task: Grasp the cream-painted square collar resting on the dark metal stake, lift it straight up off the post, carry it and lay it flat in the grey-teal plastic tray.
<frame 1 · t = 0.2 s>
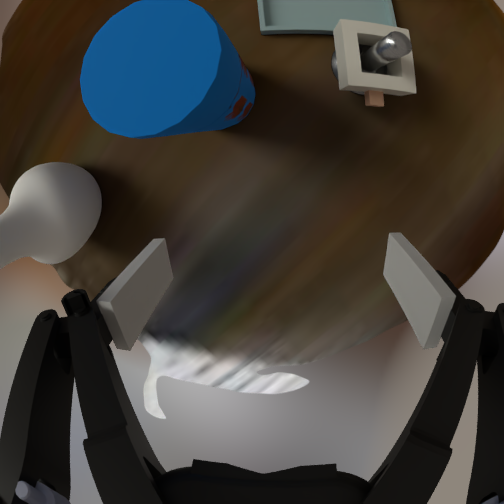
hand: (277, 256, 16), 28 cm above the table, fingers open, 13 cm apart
vase: (80, 197, 45), on the table
thermos: (219, 95, 36), on the table
ring: (368, 62, 28), point 4 cm above the table, touching stake
stake: (360, 67, 32), on the table
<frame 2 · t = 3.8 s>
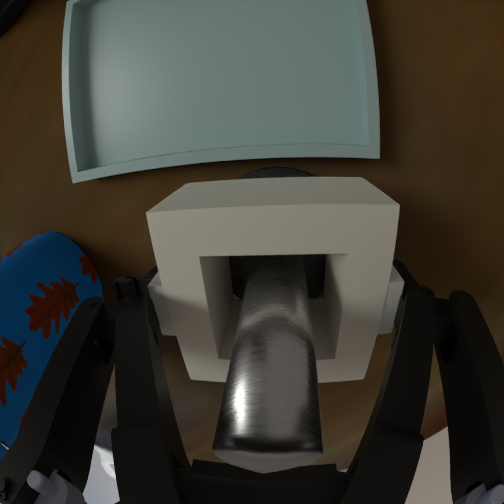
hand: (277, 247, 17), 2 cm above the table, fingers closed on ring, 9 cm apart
thermos: (64, 278, 23), on the table
ring: (277, 258, 16), point 4 cm above the table, touching gripper, stake
tray: (203, 47, 14), on the table
stake: (278, 232, 19), on the table
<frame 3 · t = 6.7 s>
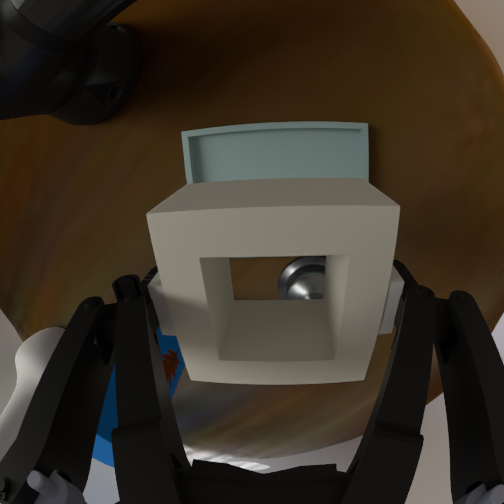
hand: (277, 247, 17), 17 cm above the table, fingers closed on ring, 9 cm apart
vase: (70, 346, 50), on the table
thermos: (169, 307, 41), on the table
ring: (277, 259, 16), point 18 cm above the table, touching gripper
tray: (278, 188, 32), on the table
stake: (311, 285, 37), on the table
when the fingers open (2 cm above the table, at t = 10.1 s): ring drops 3 cm, resting on tray.
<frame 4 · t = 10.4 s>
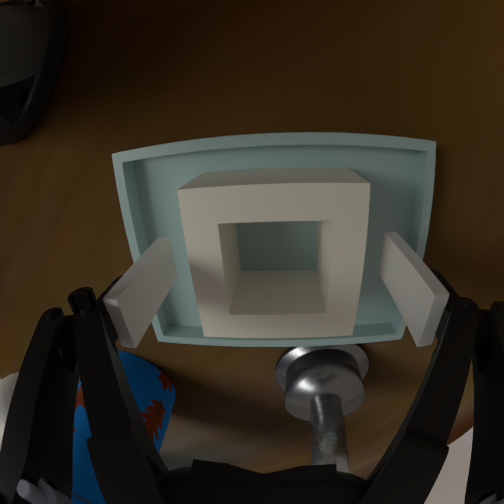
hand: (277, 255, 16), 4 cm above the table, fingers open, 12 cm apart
vase: (40, 391, 38), on the table
thermos: (135, 379, 29), on the table
ring: (277, 235, 19), resting on tray
tray: (278, 245, 20), on the table
stake: (322, 369, 25), on the table
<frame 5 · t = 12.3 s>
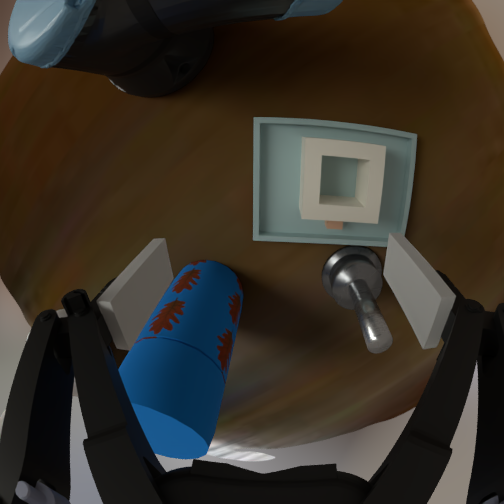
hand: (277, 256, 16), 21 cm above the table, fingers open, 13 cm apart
thermos: (209, 290, 43), on the table
ring: (336, 174, 33), resting on tray
tray: (334, 182, 34), on the table
stake: (351, 273, 39), on the table
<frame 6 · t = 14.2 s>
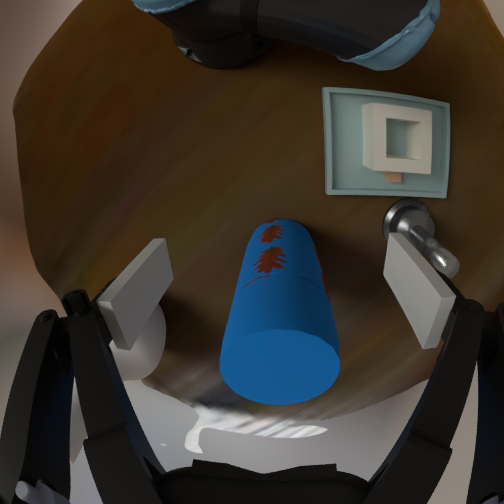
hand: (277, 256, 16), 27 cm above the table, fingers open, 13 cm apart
vase: (139, 309, 54), on the table
thermos: (281, 248, 45), on the table
ring: (390, 136, 35), resting on tray
tray: (389, 143, 36), on the table
stake: (406, 224, 41), on the table
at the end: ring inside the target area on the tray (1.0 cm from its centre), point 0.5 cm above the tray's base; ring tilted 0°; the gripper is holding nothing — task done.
